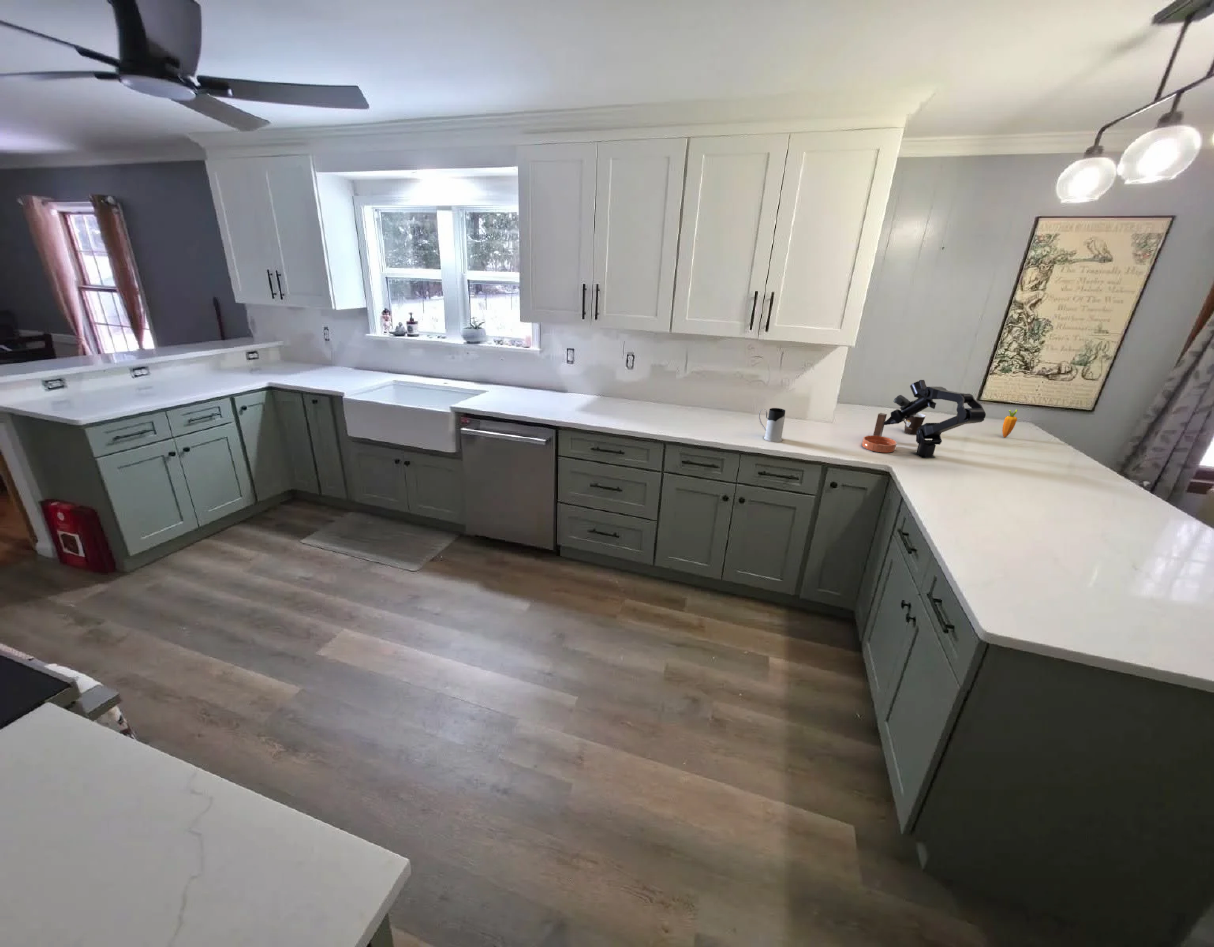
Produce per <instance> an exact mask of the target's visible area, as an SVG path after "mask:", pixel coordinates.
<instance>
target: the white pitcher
mask: <svg viewBox="0 0 1214 947" xmlns="http://www.w3.org/2000/svg"><path fill="white" fill-rule="evenodd" d="M761 411H765V419H767V420H766V426H764V424H763V423H762V419H761ZM785 416H786V409H783V408H780V407H771V408H769V410H768V411H767V410H766V409H765V408H761V409H760V410H759V411H758V420H759V424H760V425H761V426H762V428H763V429H764V431H765V434H764V437H763V439H764V440H765V441H767V442H772V443H780V442H782V441H783V438H782V437H783V431H784V425H785V419H786V417H785Z"/></svg>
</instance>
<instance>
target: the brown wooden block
mask: <svg viewBox="0 0 1214 947" xmlns="http://www.w3.org/2000/svg"><path fill="white" fill-rule="evenodd" d="M887 417H888V414H887V413H885V412H884V413H883V412H880V413H878V414H877V417H876V422H875V425H874V430H873V434H872V435H874V436H883V432H884V428H885V425H884V424H883V423H884V422H885V421H886V420H887Z"/></svg>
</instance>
